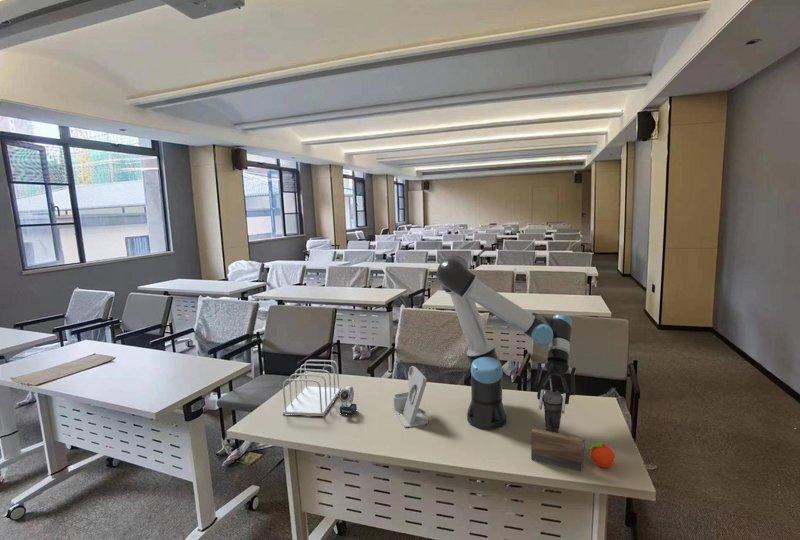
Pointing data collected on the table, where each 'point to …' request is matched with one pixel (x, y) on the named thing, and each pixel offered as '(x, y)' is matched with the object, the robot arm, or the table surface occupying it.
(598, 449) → the clementine
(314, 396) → the file sorter
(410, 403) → the phone holder
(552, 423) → the beverage cup
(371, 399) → the table surface
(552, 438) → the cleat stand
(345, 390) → the webcam
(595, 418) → the table surface
